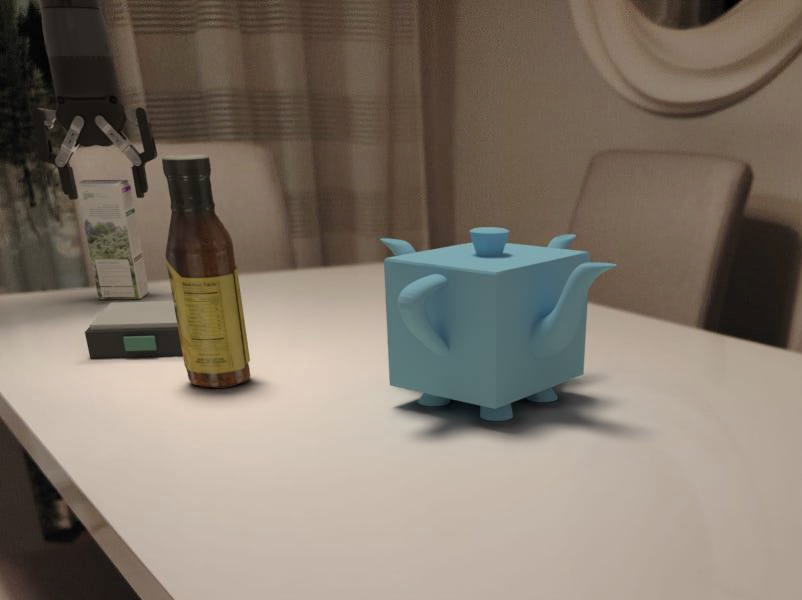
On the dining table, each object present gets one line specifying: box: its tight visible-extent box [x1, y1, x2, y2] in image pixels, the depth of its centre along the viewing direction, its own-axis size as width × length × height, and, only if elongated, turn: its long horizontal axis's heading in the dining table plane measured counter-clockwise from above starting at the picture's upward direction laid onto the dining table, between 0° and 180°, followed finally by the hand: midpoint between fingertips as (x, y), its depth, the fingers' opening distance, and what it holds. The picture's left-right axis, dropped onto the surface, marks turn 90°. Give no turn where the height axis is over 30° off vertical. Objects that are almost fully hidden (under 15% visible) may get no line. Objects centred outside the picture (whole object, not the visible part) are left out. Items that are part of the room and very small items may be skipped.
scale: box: [84, 300, 183, 359], centre depth 105 cm, size 11×14×3 cm
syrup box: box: [75, 179, 150, 300], centre depth 126 cm, size 6×6×14 cm
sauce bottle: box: [161, 153, 251, 389], centre depth 87 cm, size 6×6×20 cm
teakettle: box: [379, 226, 618, 422], centre depth 84 cm, size 19×19×15 cm
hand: (107, 198), depth 124 cm, fingers open, 8 cm apart
